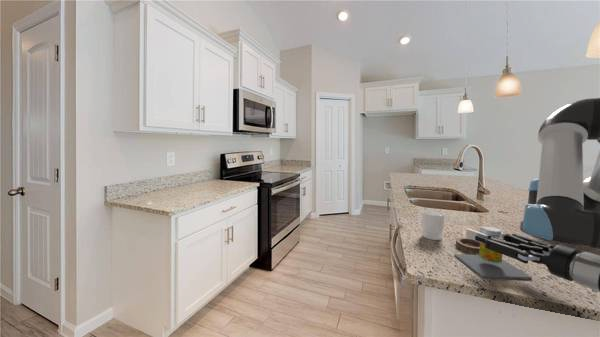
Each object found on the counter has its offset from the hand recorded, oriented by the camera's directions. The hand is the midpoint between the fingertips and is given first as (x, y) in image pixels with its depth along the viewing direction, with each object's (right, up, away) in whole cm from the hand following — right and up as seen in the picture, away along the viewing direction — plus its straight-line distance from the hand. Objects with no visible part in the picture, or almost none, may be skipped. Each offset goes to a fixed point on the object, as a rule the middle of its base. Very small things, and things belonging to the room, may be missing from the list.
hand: (474, 231), depth 76 cm
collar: (+6, -8, +9) cm, 13 cm away
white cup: (-3, -7, +19) cm, 21 cm away
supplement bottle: (+2, -8, -4) cm, 9 cm away
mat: (+2, -9, -4) cm, 10 cm away
